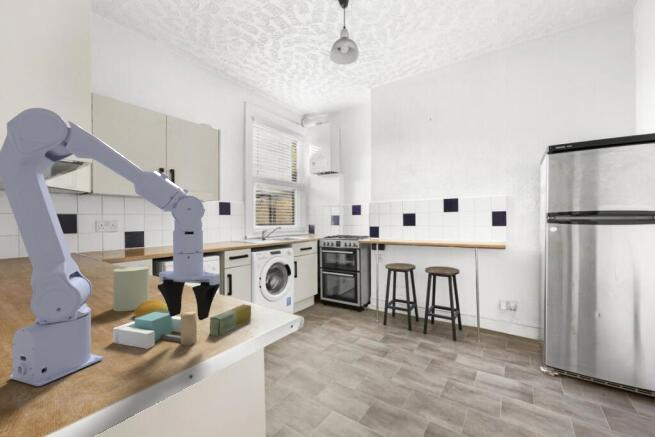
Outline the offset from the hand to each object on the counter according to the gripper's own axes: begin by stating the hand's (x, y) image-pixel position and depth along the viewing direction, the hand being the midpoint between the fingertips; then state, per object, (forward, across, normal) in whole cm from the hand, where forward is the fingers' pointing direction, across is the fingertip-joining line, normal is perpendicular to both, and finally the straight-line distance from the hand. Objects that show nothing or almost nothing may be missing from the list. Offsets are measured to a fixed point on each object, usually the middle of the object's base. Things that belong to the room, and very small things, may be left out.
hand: (189, 316), depth 61 cm
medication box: (+6, -3, -10) cm, 12 cm away
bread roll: (+6, +24, -11) cm, 27 cm away
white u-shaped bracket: (+5, +10, 0) cm, 11 cm away
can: (+6, +37, -15) cm, 40 cm away
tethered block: (+5, +6, 0) cm, 8 cm away
